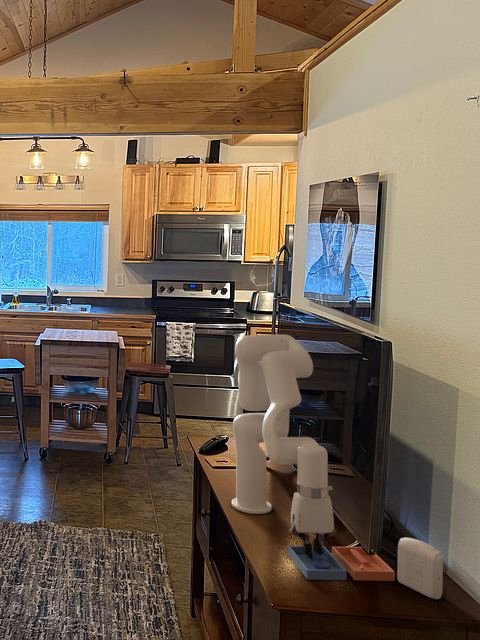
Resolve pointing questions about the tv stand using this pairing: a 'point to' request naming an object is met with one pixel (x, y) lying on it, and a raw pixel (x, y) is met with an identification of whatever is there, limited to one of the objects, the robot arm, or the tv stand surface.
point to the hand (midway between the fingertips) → (312, 555)
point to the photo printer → (420, 567)
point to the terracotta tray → (355, 570)
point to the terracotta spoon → (361, 561)
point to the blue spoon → (319, 561)
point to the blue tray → (308, 565)
